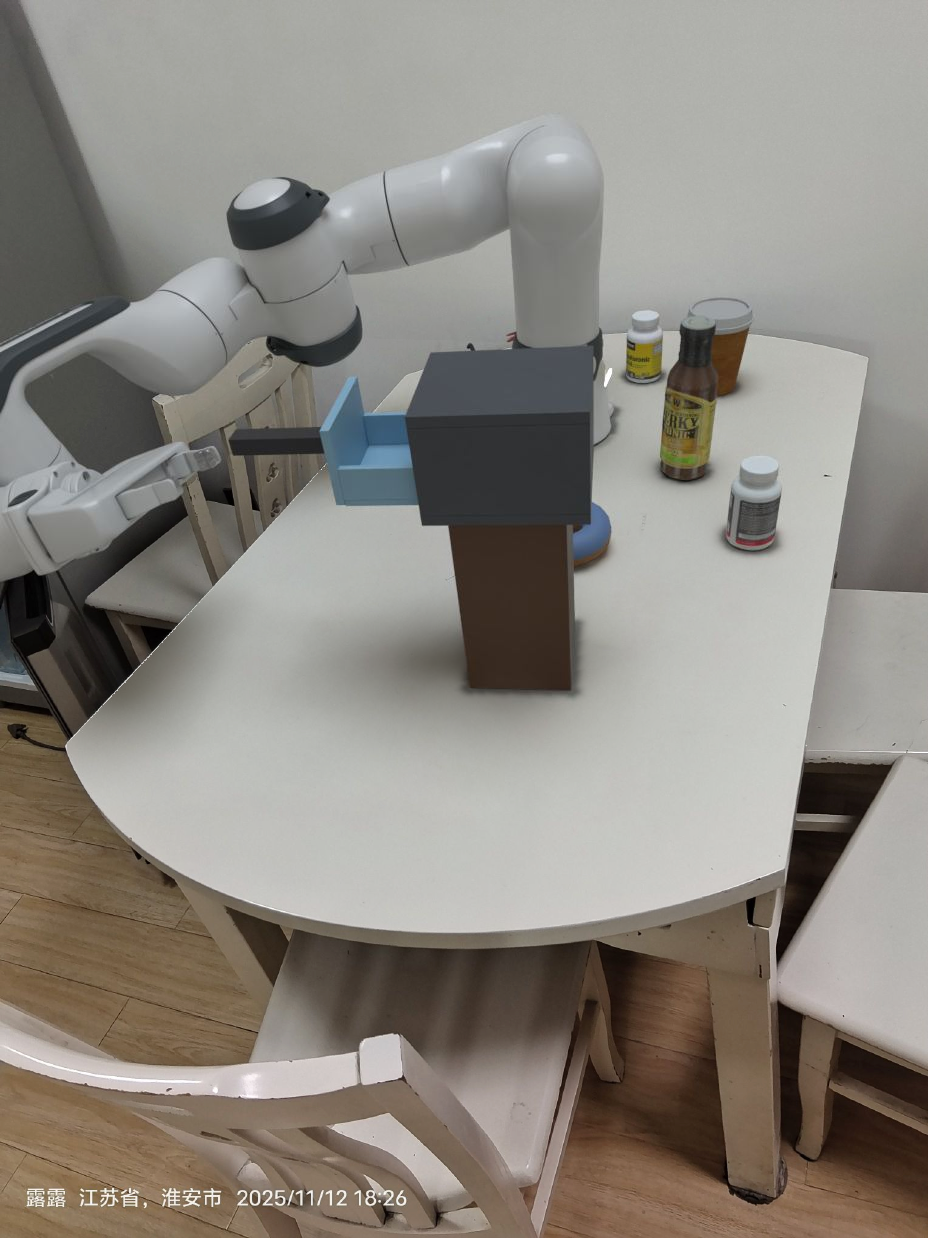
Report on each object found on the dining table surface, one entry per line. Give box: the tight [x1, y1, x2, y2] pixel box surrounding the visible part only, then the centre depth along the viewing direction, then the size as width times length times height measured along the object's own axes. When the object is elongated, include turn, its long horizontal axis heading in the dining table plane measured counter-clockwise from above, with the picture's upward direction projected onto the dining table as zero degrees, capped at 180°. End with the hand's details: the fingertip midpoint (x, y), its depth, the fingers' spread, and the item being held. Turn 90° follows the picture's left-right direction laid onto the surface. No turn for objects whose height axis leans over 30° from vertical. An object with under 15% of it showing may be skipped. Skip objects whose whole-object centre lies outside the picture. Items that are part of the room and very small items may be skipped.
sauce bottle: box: [659, 316, 718, 481], centre depth 105 cm, size 6×6×20 cm
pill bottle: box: [725, 455, 783, 551], centre depth 96 cm, size 5×5×10 cm
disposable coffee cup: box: [684, 296, 755, 397], centre depth 125 cm, size 10×10×12 cm
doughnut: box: [573, 501, 612, 567], centre depth 100 cm, size 10×10×5 cm
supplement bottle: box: [625, 309, 664, 384], centre depth 131 cm, size 5×5×10 cm
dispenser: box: [405, 346, 595, 691], centre depth 78 cm, size 14×12×30 cm
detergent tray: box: [227, 376, 419, 507], centre depth 74 cm, size 23×10×7 cm, turn 82°
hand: (197, 470), depth 78 cm, fingers open, 8 cm apart
